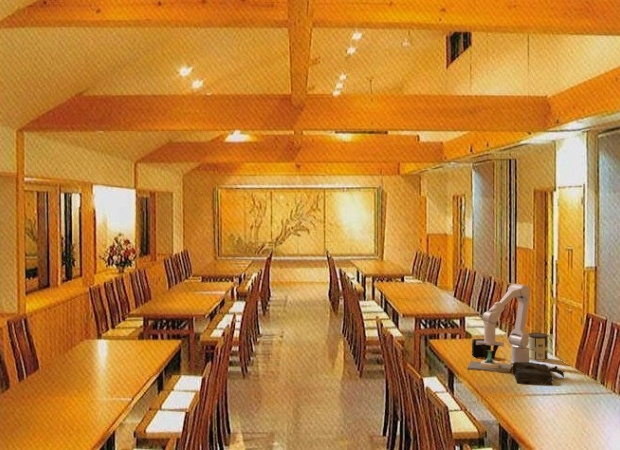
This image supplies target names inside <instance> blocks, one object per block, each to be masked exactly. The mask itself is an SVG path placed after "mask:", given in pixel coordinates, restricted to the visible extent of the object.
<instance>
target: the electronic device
mask: <svg viewBox="0 0 620 450" xmlns="http://www.w3.org/2000/svg"><path fill="white" fill-rule="evenodd" d="M476 341H484V338H473V339H472V340H471V355H472V357H473V358H474V357H485V356H484V352H483V350H482V348H481V345H476ZM487 350H492V346H490V345H487V348H486V351H487Z"/></svg>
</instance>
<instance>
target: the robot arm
mask: <svg viewBox="0 0 620 450" xmlns="http://www.w3.org/2000/svg"><path fill="white" fill-rule="evenodd" d="M530 294H531V289H530V287H529V286H528V285H526V284H519V283H511V284H510V285H509V286H508V288H507V291H506V293H505V294H504V295H503V296H502V298H501V299H500V301H496V302H494V304H493V305H492V306H491V307H490V308H489V310H488V311H485V312H484V313H483V315H482V316H481V318H482V319H481V320H482V321H483V325H484V334H483V335H484V336H483V337H484V338H483V339H484V341H476V345H481V348H482V350H483V352H484V356H485V358H484V359H485V360H486V348H487V345H490V346H491V347H492V351H493V360H495V357H496V354H497V351H498V349H499V347H503V348H504V347H505V343H504V342H503V341H502V342H501V341H496V323H497V322H498V320H499V317H500V316H501V314H502V313H503V311H504V310H505V308H506V307H505V306H506V305H507V304H508V303H509V302H510V301H512V300H513V299H514V298H516V299H517V301H518V305H517V312H516V317H515V318H516V319H515V323H514V324H515V325H514V329H512V330H511V332H510V335H509V336H508V343H509V345H510V346H511V360H510V364H512V365H513V364H514V362H530V361H531V360H530V358H529V347H528V346H529V333H528V332H526V324H527V319H528V313H529V312H528V310H529V306H530Z"/></svg>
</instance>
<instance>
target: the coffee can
mask: <svg viewBox="0 0 620 450" xmlns="http://www.w3.org/2000/svg"><path fill="white" fill-rule="evenodd" d="M548 337H549V335H548V334H547V333H543V332H531V333H528V340H529V343H528V348H529V358H530V361H534V362H547V361H548V360H549V359H548V358H549V357H548V347H549V346H548V343H549V342H548V341H549V340H548V339H549V338H548Z"/></svg>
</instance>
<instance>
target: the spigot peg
mask: <svg viewBox="0 0 620 450" xmlns="http://www.w3.org/2000/svg"><path fill="white" fill-rule="evenodd" d="M485 360H486V362H489V363H492V362H493V361H494V359H493V349H491V350H487V351H486V359H485Z"/></svg>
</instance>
